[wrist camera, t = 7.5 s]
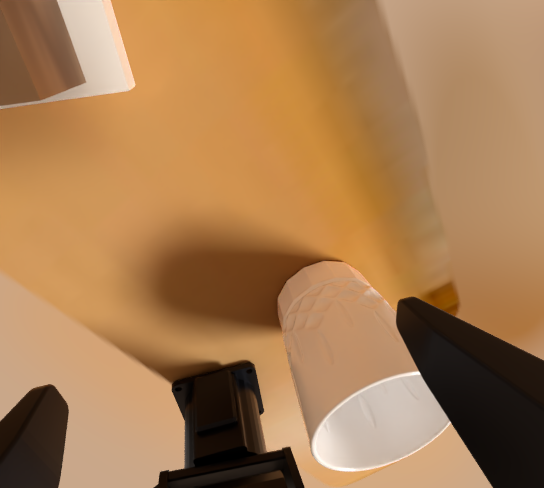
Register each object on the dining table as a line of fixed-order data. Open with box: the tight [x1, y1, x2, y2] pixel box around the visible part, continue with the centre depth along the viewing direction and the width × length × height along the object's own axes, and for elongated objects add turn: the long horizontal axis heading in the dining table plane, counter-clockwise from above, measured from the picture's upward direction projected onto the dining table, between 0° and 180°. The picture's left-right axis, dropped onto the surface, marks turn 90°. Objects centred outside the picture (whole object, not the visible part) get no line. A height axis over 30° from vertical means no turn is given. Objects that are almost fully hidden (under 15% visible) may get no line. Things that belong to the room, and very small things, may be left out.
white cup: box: [278, 261, 451, 472], centre depth 21 cm, size 8×8×10 cm
